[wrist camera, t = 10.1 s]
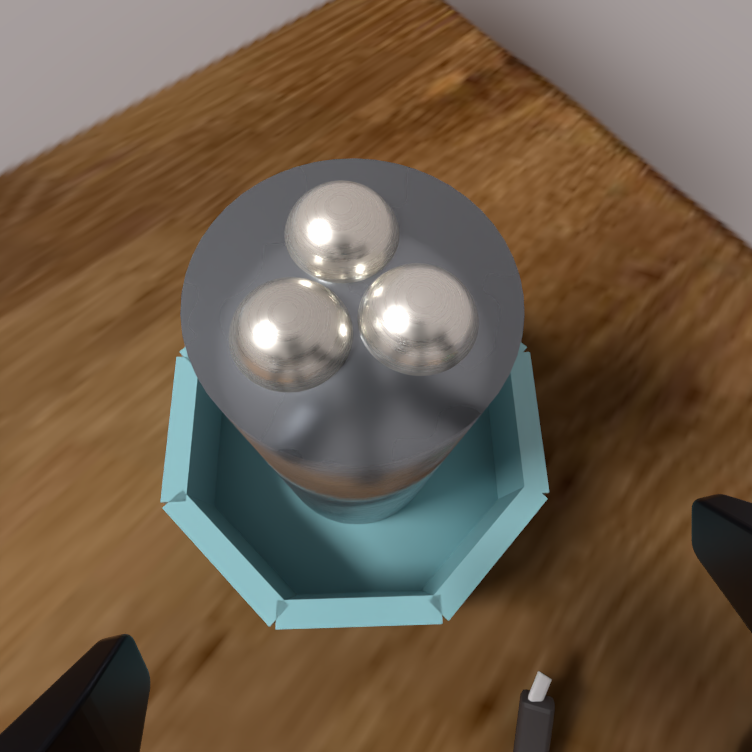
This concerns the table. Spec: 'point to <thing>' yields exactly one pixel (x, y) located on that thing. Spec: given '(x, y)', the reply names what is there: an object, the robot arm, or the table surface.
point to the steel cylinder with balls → (352, 327)
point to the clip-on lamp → (535, 717)
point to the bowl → (354, 541)
